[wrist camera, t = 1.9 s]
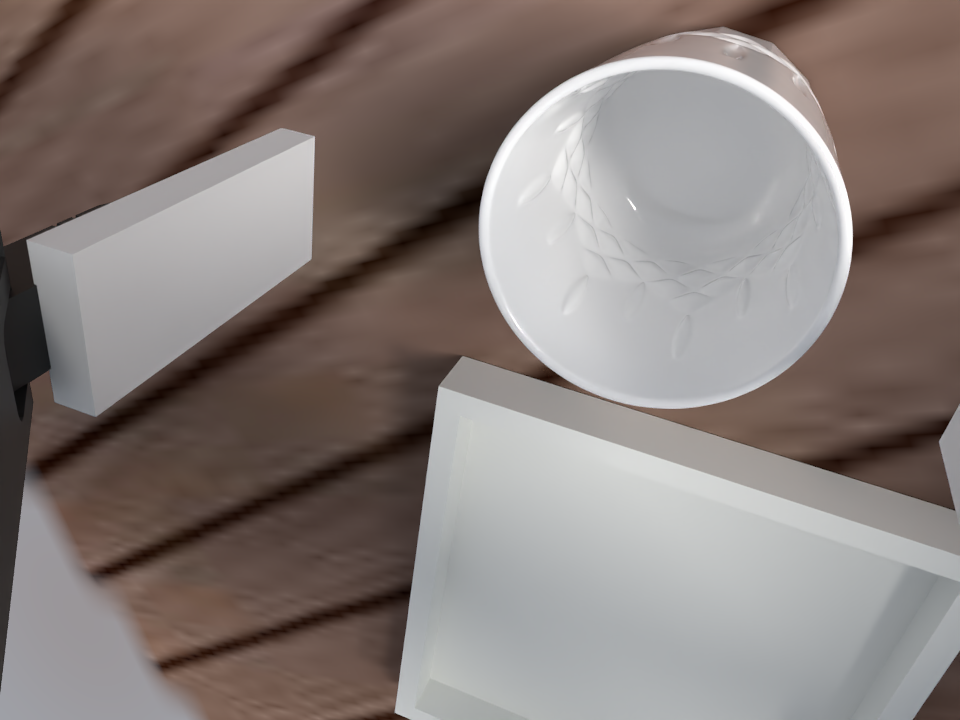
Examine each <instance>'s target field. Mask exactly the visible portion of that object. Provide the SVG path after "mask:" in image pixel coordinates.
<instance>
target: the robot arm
mask: <svg viewBox="0 0 960 720" xmlns="http://www.w3.org/2000/svg"><path fill="white" fill-rule="evenodd" d="M314 151H315V136H311V135H307V134H303V133H299V132H296V131H292V130H288V129H284V128H280V129H278V130H276V131H273V132H271V133H269V134H267V135H264V136H262V137H260V138H258V139H255V140H253V141H251V142H248V143H246V144H244V145H242V146H239V147H237V148H235V149H232V150H230V151H228V152H226V153H223V154H221V155H219V156H217V157H214V158H212V159H210V160H207V161H205V162H203V163H201V164H198V165H196V166H194V167H192V168H189V169H187V170H185V171H182V172H180V173H178V174H176V175H173V176H171V177H169V178H167V179H164V180H162V181H160V182H157V183H155V184H153V185H151V186H148V187H146V188H144V189H142V190H139V191H137V192H135V193H132V194H130V195H128V196H126V197H123V198H121V199H119V200H116V201H114V202H112V203H108V204H103V205H99V206H96V207H94V208H92V209H89V210H87V211H85V212H82V213H80V214H78V215H76V218H72V217H71V218H69V219H66V220H64V221H62V222H60V223H57V226H56V227H55V226H50V227H48V228H46V229H43V230H41V231H39V232H37V233H34V234H32V235H30V236H27V237H25V238H23V239H20V240H18V241H16V242H14V243H11V244H9V245H7V246H4V247H3V242H2V237H1V232H0V690H1V681H2V672H3V664H4V655H5V646H6V637H7V628H8V620H9V611H10V601H11V593H12V585H13V576H14V567H15V558H16V550H17V541H18V532H19V523H20V514H21V506H22V497H23V488H24V480H25V471H26V462H27V453H28V445H29V436H30V427H31V418H32V409H33V398H32V393H31V388H30V382H31V381H32V380H34V379H35V378H37V377H39V376H40V375H42V374H43V373H45V372H47V371H48V370H49V372H50V378H51V384H52V389H53V395H54V401H55V403H58V404H61V405H64V406H67V407H69V408H72V409H75V410H78V411H80V412H83V413H86V414H89V415H92V416H94V417H97V416H98V415H99V414H101V413H102V412H103V411H105V410H106V409H108V408H109V407H110V406H112V405H113V404H114V403H116V402H117V401H118V400H120V399H121V398H123V397H124V396H125V395H127V394H128V393H129V392H131V391H132V390H133V389H135V388H136V387H138V386H139V385H140V384H142V383H143V382H144V381H146V380H147V379H149V378H150V377H151V376H153V375H154V374H155V373H157V372H158V371H159V370H161V369H162V368H164V367H165V366H166V365H168V364H169V363H170V362H172V361H173V360H174V359H176V358H177V357H179V356H180V355H181V354H183V353H184V352H185V351H187V350H188V349H190V348H191V347H192V346H194V345H195V344H196V343H198V342H199V341H200V340H202V339H203V338H205V337H206V336H207V335H209V334H210V333H211V332H213V331H214V330H215V329H217V328H218V327H220V326H221V325H222V324H224V323H225V322H226V321H228V320H229V319H231V318H232V317H233V316H235V315H236V314H237V313H239V312H240V311H241V310H243V309H244V308H246V307H247V306H248V305H250V304H251V303H252V302H254V301H255V300H256V299H258V298H259V297H261V296H262V295H263V294H265V293H266V292H267V291H269V290H270V289H272V288H273V287H274V286H276V285H277V284H278V283H280V282H281V281H282V280H284V279H285V278H287V277H288V276H289V275H291V274H292V273H293V272H295V271H296V270H297V269H299V268H300V267H302V266H303V265H304V264H306V263H307V262H308V261H310V260H311V258H312V223H313V187H314ZM939 444H940V449H941V453H942V457H943V461H944V465H945V469H946V473H947V477H948V481H949V486H950V490H951V494H952V498H953V502H954V506H955V510H956V514H957V518H958V523H959V527H960V404H959V406H958V408H957V410H956V412H955V414H954V415H953V417H952V419H951V421H950V423H949V424H948V426H947V428H946V430H945V432H944V433H943V435H942V437H941V439H940V441H939Z"/></svg>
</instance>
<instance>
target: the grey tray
mask: <svg viewBox="0 0 960 720" xmlns="http://www.w3.org/2000/svg"><path fill="white" fill-rule="evenodd" d="M959 651H960V527H959V523H958V518H957V514H956V511H954V510H951V509H948V508H945V507H941V506H938V505H935V504H932V503H929V502H926V501H922V500H919V499H916V498H913V497H910V496H906V495H903V494H900V493H897V492H894V491H891V490H887V489H884V488H881V487H878V486H875V485H871V484H868V483H865V482H862V481H859V480H856V479H852V478H849V477H846V476H843V475H840V474H836V473H833V472H830V471H827V470H824V469H821V468H817V467H814V466H811V465H808V464H805V463H801V462H798V461H795V460H792V459H789V458H786V457H782V456H779V455H776V454H773V453H770V452H767V451H763V450H760V449H757V448H754V447H751V446H747V445H744V444H741V443H738V442H735V441H732V440H728V439H725V438H722V437H719V436H716V435H712V434H709V433H706V432H703V431H700V430H697V429H693V428H690V427H687V426H684V425H681V424H677V423H674V422H671V421H668V420H665V419H662V418H658V417H655V416H652V415H649V414H646V413H642V412H639V411H636V410H633V409H630V408H627V407H623V406H620V405H617V404H614V403H611V402H608V401H604V400H601V399H598V398H595V397H592V396H588V395H585V394H582V393H579V392H576V391H573V390H569V389H566V388H563V387H560V386H557V385H553V384H550V383H547V382H544V381H541V380H538V379H534V378H531V377H528V376H525V375H522V374H518V373H515V372H512V371H509V370H506V369H503V368H499V367H496V366H493V365H490V364H487V363H483V362H480V361H477V360H474V359H471V358H468V357H464V356H462V357H461V358H460V360H459V361H458V362H457V364H456V365H455V366H454V367H453V369H452V370H451V371H450V372H449V374H448V375H447V376H446V377H445V379H444V380H443V381H442V382H441V384H440V385H439V387H438V394H437V402H436V409H435V417H434V424H433V432H432V439H431V446H430V454H429V461H428V469H427V476H426V484H425V491H424V499H423V506H422V514H421V521H420V528H419V536H418V543H417V551H416V558H415V566H414V573H413V581H412V588H411V596H410V603H409V610H408V618H407V625H406V633H405V640H404V648H403V655H402V663H401V670H400V678H399V685H398V693H397V700H396V707H395V713H397V714H399V715H401V716H404V717H406V718H408V719H411V720H913V718H914V717H915V715H916V714H917V712H918V711H919V709H920V708H921V707H922V705H923V704H924V702H925V701H926V699H927V698H928V696H929V695H930V693H931V692H932V690H933V689H934V688H935V686H936V685H937V683H938V682H939V680H940V679H941V677H942V676H943V674H944V673H945V671H946V670H947V669H948V667H949V666H950V664H951V663H952V661H953V660H954V658H955V657H956V655H957V654H958V653H959Z"/></svg>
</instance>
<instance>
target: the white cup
mask: <svg viewBox="0 0 960 720" xmlns="http://www.w3.org/2000/svg"><path fill="white" fill-rule="evenodd" d="M479 245H480V253H481V259H482V264H483V268H484V272H485V276H486V279H487V282H488V285H489V288H490V290H491V293H492V295H493V298H494V300H495V302H496V304H497V306H498V308H499V310H500V312H501V313H502V315H503V317H504V318H505V320H506V322H507V323H508V325H509V326H510V327H511V329H512V330H513V332H514V333H515V334H516V336H517V337H518V338H519V339H520V340H521V342H522V343H523V344H524V345H525V346H526V347H527V348H528V349H529V350H530V351H531V352H532V353H533V354H534V355H535V356H536V357H537V358H538V359H539V360H540V361H541V362H543V363H544V364H545V365H546V366H547V367H549V368H550V369H551V370H553V371H554V372H555V373H557V374H558V375H560V376H561V377H563V378H564V379H566V380H568V381H569V382H571V383H573V384H575V385H577V386H578V387H580V388H582V389H584V390H587V391H589V392H591V393H593V394H596V395H598V396H601V397H604V398H607V399H610V400H613V401H617V402H620V403H624V404H629V405H634V406H640V407H648V408H660V409H681V408H692V407H700V406H706V405H711V404H715V403H719V402H723V401H726V400H730V399H733V398H736V397H738V396H741V395H743V394H746V393H748V392H750V391H752V390H755V389H757V388H759V387H760V386H762V385H764V384H766V383H768V382H769V381H771V380H772V379H774V378H776V377H777V376H778V375H780V374H781V373H783V372H784V371H785V370H787V369H788V368H789V367H790V366H792V365H793V364H794V363H795V362H796V361H797V360H798V359H799V358H800V357H801V356H803V355H804V353H805V352H806V351H807V350H808V349H809V348H810V347H811V346H812V345H813V344H814V342H815V341H816V340H817V339H818V337H819V336H820V335H821V333H822V332H823V330H824V329H825V327H826V326H827V324H828V323H829V321H830V319H831V318H832V316H833V314H834V312H835V310H836V308H837V306H838V304H839V301H840V299H841V296H842V294H843V291H844V288H845V285H846V281H847V278H848V274H849V269H850V263H851V256H852V245H853V228H852V216H851V209H850V204H849V199H848V195H847V191H846V188H845V184H844V181H843V177H842V173H841V169H840V166H839V163H838V159H837V154H836V149H835V145H834V141H833V138H832V135H831V132H830V130H829V127H828V125H827V122H826V120H825V117H824V115H823V112H822V110H821V107H820V105H819V103H818V101H817V98H816V97H815V95H814V93H813V92H812V90H811V87H810V84H809V81H808V80H807V79H806V77H805V76H804V75H803V74H802V73H801V72H800V71H799V70H798V69H797V68H796V67H795V66H794V65H793V64H792V63H791V62H790V60H789V59H788V58H787V57H786V56H785V55H784V54H783V53H782V52H781V51H780V50H779V49H778V48H777V47H776V46H775V45H774V44H773V43H772V42H769V41H765V40H762V39H759V38H756V37H753V36H750V35H747V34H744V33H741V32H738V31H735V30H732V29H729V28H726V27H717V28H710V29H704V30H697V31H690V32H682V33H677V34H672V35H669V36H665V37H662V38H659V39H656V40H653V41H650V42H647V43H645V44H642V45H639V46H637V47H634V48H632V49H630V50H627V51H625V52H623V53H621V54H619V55H617V56H615V57H613V58H611V59H609V60H607V61H605V62H603V63H601V64H599V65H597V66H595V67H593V68H591V69H589V70H587V71H585V72H583V73H581V74H578V75H576V76H574V77H572V78H571V79H569V80H567V81H565V82H564V83H562V84H560V85H559V86H557V87H556V88H554V89H553V90H551V91H550V92H549V93H547V94H546V95H545V96H543V97H542V98H541V99H540V100H538V101H537V102H536V103H535V104H534V105H533V106H532V107H531V108H530V109H529V110H528V111H527V112H526V113H525V114H524V115H523V116H522V117H521V118H520V119H519V120H518V122H517V123H516V124H515V125H514V127H513V128H512V129H511V131H510V132H509V133H508V135H507V136H506V138H505V140H504V141H503V143H502V144H501V146H500V148H499V150H498V152H497V154H496V156H495V158H494V160H493V162H492V165H491V167H490V170H489V172H488V175H487V178H486V181H485V185H484V189H483V193H482V198H481V204H480V212H479Z"/></svg>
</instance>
